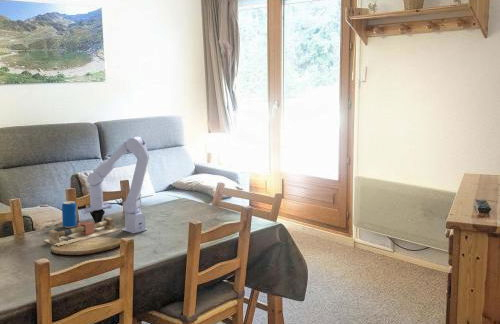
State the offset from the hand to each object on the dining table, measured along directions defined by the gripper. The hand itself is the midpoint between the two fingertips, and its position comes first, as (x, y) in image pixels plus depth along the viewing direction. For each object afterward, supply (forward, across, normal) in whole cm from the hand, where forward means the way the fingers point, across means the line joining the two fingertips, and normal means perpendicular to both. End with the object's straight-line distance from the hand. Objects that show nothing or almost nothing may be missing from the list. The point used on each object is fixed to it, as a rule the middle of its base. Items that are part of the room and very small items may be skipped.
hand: (98, 225), depth 233 cm
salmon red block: (+1, +7, +2) cm, 8 cm away
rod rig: (+2, +10, +3) cm, 10 cm away
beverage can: (+2, +6, -16) cm, 17 cm away
